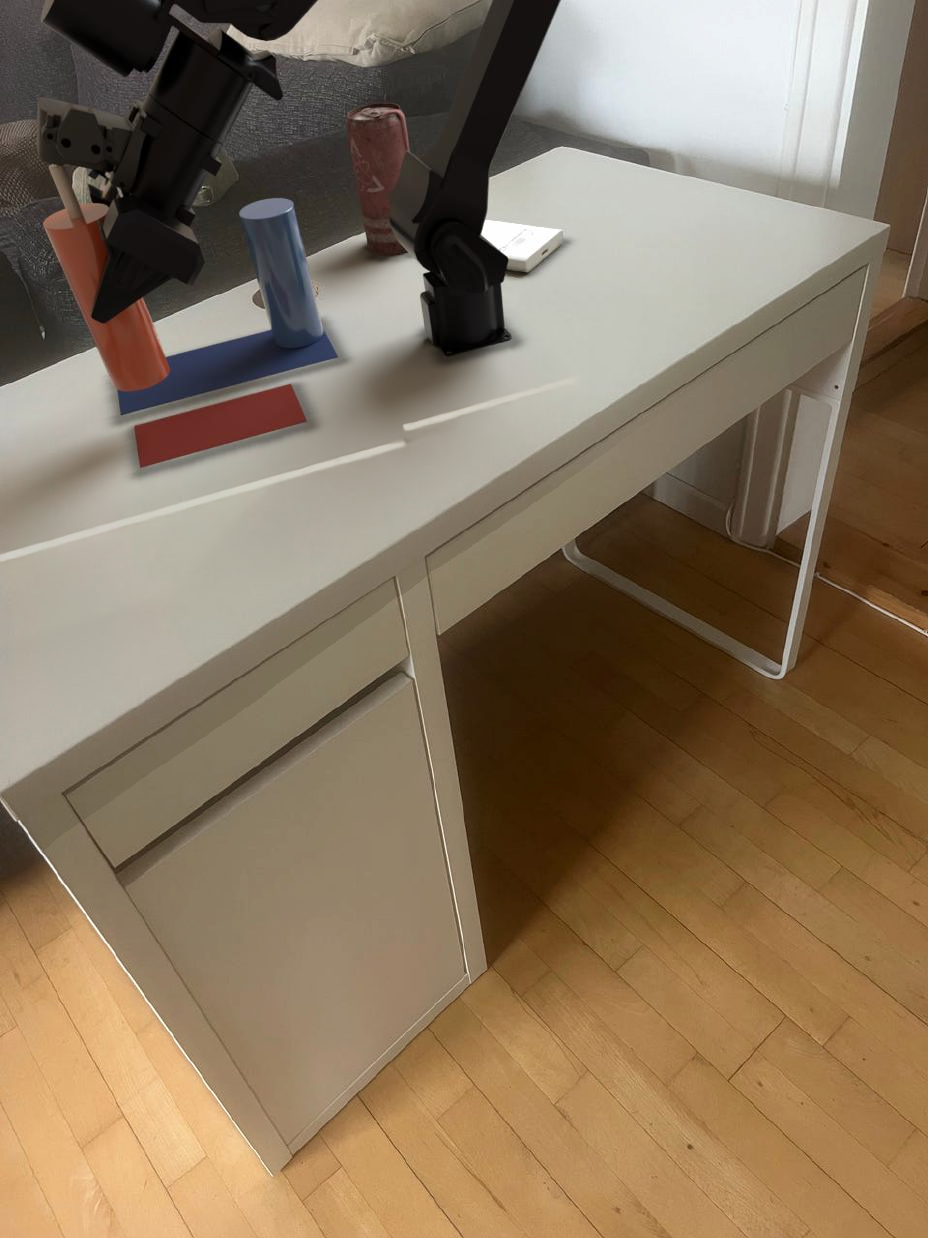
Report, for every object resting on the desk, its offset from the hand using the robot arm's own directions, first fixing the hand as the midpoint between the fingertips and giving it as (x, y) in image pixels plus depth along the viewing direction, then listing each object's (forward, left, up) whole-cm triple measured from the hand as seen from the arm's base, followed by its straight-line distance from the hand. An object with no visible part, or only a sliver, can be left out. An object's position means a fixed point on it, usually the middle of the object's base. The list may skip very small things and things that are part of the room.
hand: (94, 307), depth 70 cm
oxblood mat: (-6, +3, -11) cm, 13 cm away
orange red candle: (-1, 0, -6) cm, 7 cm away
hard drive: (-39, -18, -12) cm, 45 cm away
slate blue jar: (-16, -9, -11) cm, 21 cm away
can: (-30, -25, -12) cm, 41 cm away
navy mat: (-8, -8, -11) cm, 16 cm away
